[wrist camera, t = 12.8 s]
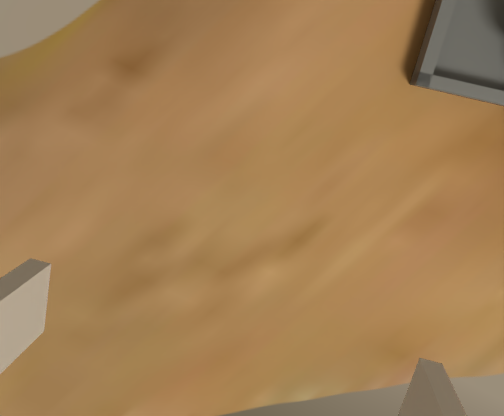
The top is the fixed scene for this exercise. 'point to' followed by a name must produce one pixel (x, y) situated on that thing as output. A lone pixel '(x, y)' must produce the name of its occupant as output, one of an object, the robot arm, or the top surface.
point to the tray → (464, 50)
